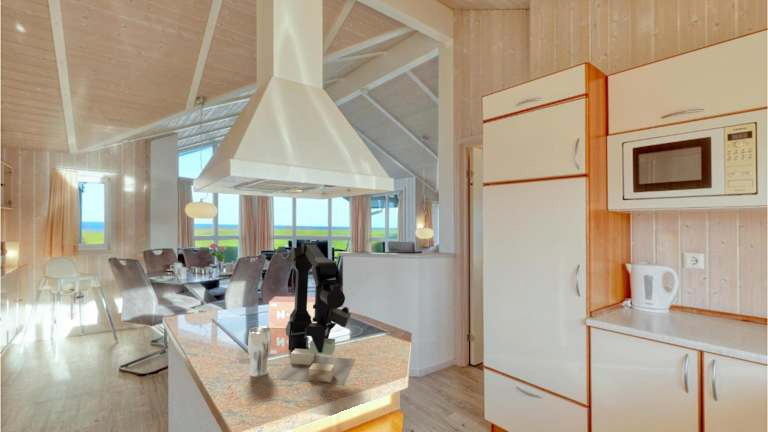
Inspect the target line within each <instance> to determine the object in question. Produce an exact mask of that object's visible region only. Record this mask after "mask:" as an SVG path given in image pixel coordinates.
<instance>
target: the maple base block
mask: <svg viewBox="0 0 768 432" xmlns="http://www.w3.org/2000/svg"><path fill="white" fill-rule="evenodd" d="M333 376H334V365H331V364H318V363H313V364H312V365H311V367H310V368H309V380H313V381H325V382H331V380H332V378H333Z"/></svg>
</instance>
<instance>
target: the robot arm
mask: <svg viewBox="0 0 768 432" xmlns="http://www.w3.org/2000/svg"><path fill="white" fill-rule="evenodd" d="M290 260H291V264H292V267H293V268H294V270H295V289H294V290H295V291H294V309H293V310H292V311H291V313H290V315H289V321H288V322H287V324H286V326H285V335H286V336H287V338H288V350H290V351H291V350H292V351H293V350H294V349H295V348H296V349H308V348H309V337H310V338H311V339H313V341H314V344H315V346H316V348H317V350H318V352H319V353H322V350H323V345H324V340H325V338H329V337H330V333H331V332H332V331H331V330H333V328H334V327H335V326H336V325H340V327H342V328H345V327H346V326H347V325H348V323H349V320H350V318H351V317H352V316H351V314H352V313H350V308H349V307H347V306H344V307H343V308H341V307H342V306H343V305H344V303H345V302H346V301H345V300H346V296H345V293H344V292H343V291H342V290H341V289H340V285H342V280H343V278H342V275H341V272H340V269H339V266H338V265H337V263H336V262H335V261H334V260H333V259H330V258H327V257H325V255H324V254H323V253H322V251H321V249H320V248H319V247H318V244H317V243H316V242H314V241H313V242H311V241H310V242H309V241H308V242H307V241H305V242H302V243H301V245H299V246H297V247H294V248H293V249H292V251H291V253H290ZM310 271H311V274H312V277H313V280H314V282H315V283H314V284H315V291H314V304H313V305H312V309H314V316H313V317H312V316H311V315H310V313H309V311H308V309H307V308H308V291H309V290H308V289H309V272H310ZM329 339H330V338H329Z"/></svg>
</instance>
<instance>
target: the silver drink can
mask: <svg viewBox="0 0 768 432" xmlns="http://www.w3.org/2000/svg"><path fill="white" fill-rule="evenodd" d="M271 336H272V335H271V328H270V327H269V326H256V327H255V326H254V327H251V328H249V329H248V339H247V341H248V342H247V351H248V357H249V369H248V370H249V371H248V375H249V377H252V378H253V377H254V378H256V377H257V378H258V377H263V376H265V375H267V374H268V372H269V371H268V360H269V354H270V350H271V345H272V344H271V341H272V337H271Z"/></svg>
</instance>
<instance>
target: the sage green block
mask: <svg viewBox="0 0 768 432" xmlns="http://www.w3.org/2000/svg"><path fill="white" fill-rule="evenodd" d="M311 339H312V338H311ZM309 350H310V353H311V354H314V355H326V356H332V355H333V354H334V352H335V350H336V338H325V340H324V345H323V350H322V353H319V352H318V350H317V348H316V346H315V344H314V341H313V339H312V340H311V341H310V342H309Z"/></svg>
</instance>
